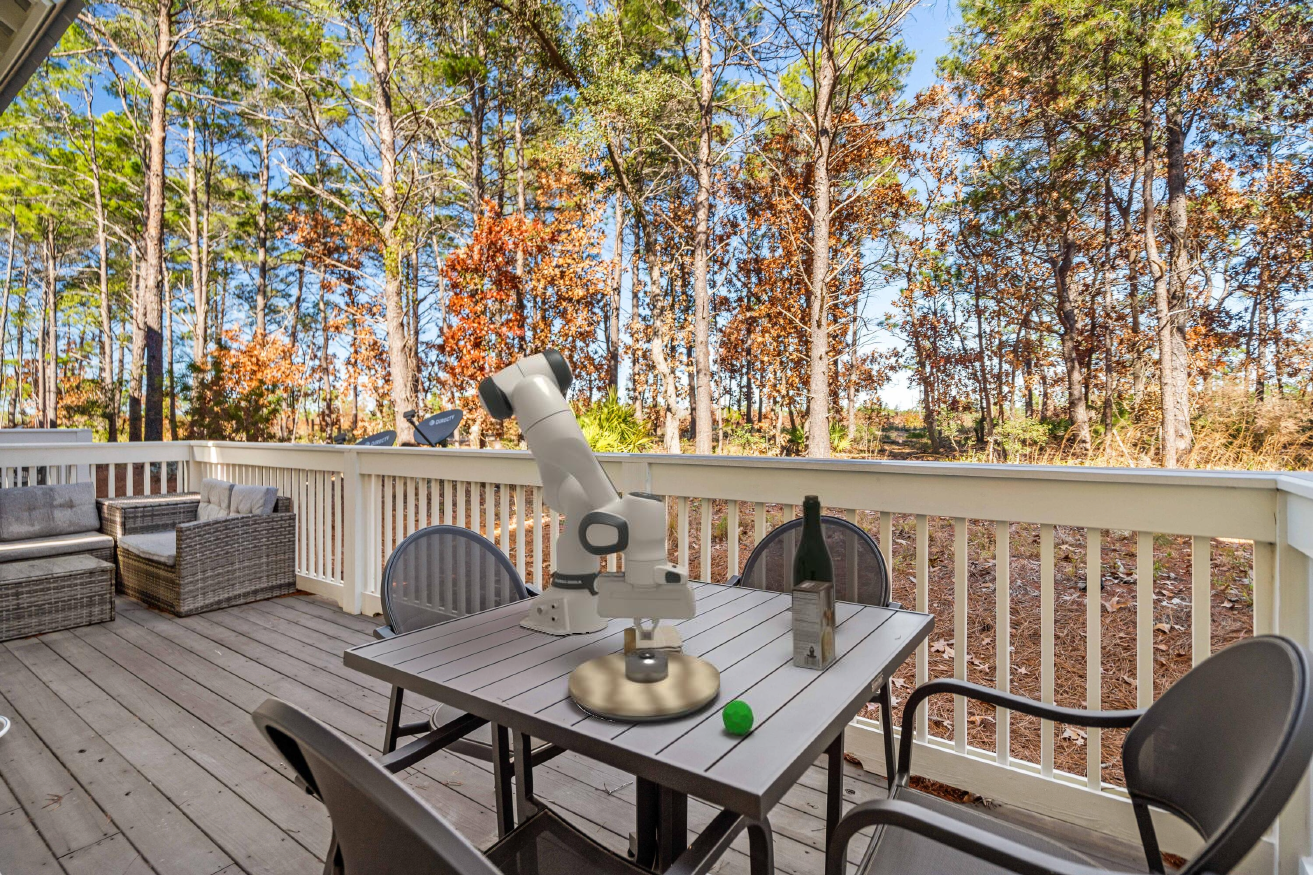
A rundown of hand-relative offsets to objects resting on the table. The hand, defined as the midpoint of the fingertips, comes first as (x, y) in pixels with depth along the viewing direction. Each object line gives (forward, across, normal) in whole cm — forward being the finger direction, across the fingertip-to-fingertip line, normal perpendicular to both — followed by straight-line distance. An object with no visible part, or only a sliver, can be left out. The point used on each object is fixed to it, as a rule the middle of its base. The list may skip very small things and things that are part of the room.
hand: (646, 639), depth 128 cm
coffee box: (+6, +34, +8) cm, 36 cm away
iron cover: (+3, +2, -12) cm, 12 cm away
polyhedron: (+6, +18, -26) cm, 33 cm away
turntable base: (+6, +1, -12) cm, 13 cm away
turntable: (+4, +1, -12) cm, 13 cm away
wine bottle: (+6, +37, +30) cm, 48 cm away
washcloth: (+7, -1, +16) cm, 17 cm away
